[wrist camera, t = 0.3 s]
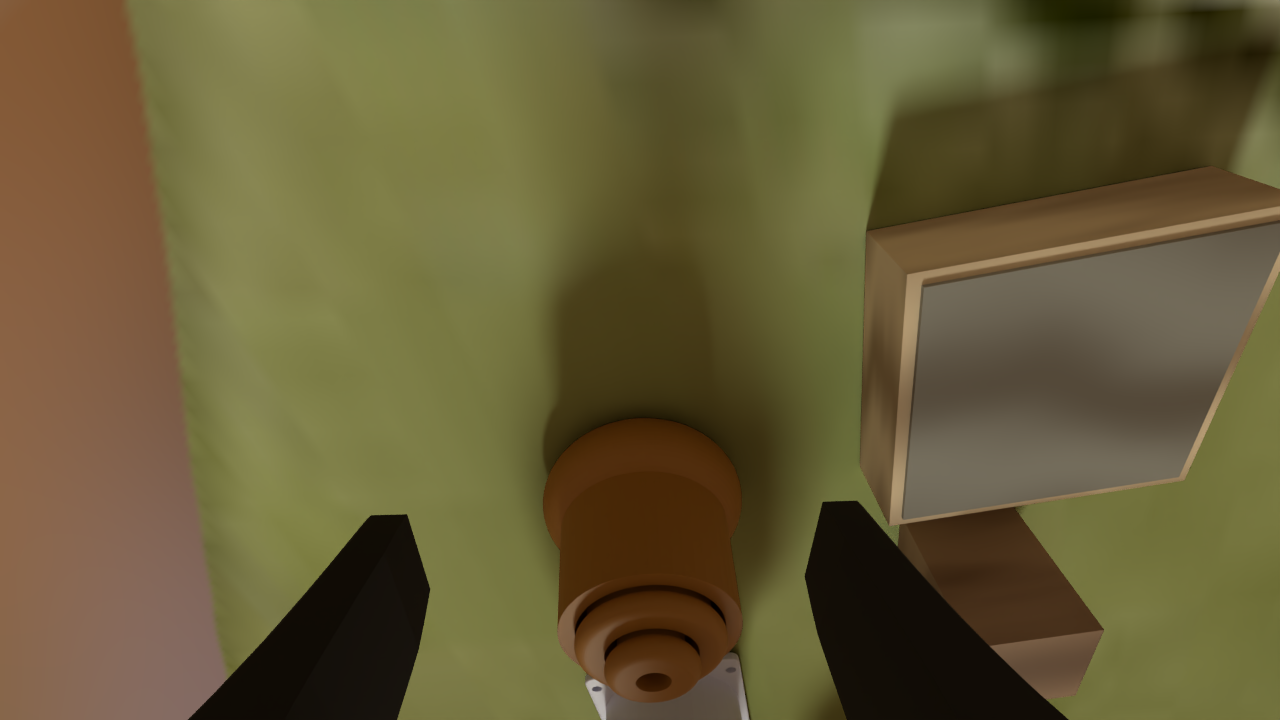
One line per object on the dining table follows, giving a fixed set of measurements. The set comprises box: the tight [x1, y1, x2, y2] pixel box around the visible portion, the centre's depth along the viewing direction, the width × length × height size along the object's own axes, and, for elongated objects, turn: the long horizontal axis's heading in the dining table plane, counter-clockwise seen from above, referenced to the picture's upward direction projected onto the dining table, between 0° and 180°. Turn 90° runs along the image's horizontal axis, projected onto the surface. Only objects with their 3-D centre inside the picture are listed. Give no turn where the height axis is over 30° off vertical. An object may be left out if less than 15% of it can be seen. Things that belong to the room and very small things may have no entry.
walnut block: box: [898, 507, 1104, 699], centre depth 24 cm, size 4×4×6 cm
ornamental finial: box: [543, 418, 743, 703], centre depth 20 cm, size 8×8×8 cm
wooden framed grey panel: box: [860, 166, 1280, 526], centre depth 19 cm, size 10×10×3 cm
